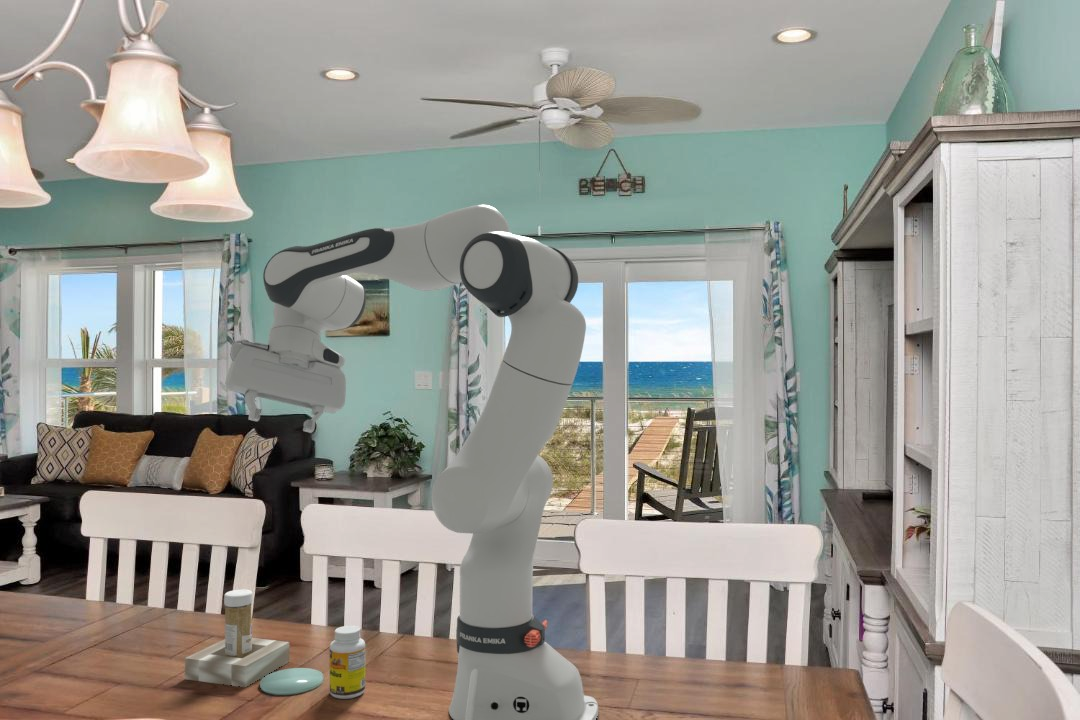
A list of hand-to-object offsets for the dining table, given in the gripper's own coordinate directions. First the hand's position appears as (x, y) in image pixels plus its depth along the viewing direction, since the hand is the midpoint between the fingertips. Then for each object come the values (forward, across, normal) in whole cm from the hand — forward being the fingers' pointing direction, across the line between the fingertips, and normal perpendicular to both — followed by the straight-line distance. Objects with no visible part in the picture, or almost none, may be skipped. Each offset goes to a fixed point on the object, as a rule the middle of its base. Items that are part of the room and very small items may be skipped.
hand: (281, 425), depth 141 cm
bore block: (+38, +5, +19) cm, 43 cm away
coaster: (+40, +11, +9) cm, 42 cm away
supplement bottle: (+42, +17, 0) cm, 45 cm away
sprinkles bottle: (+38, +5, +19) cm, 43 cm away
